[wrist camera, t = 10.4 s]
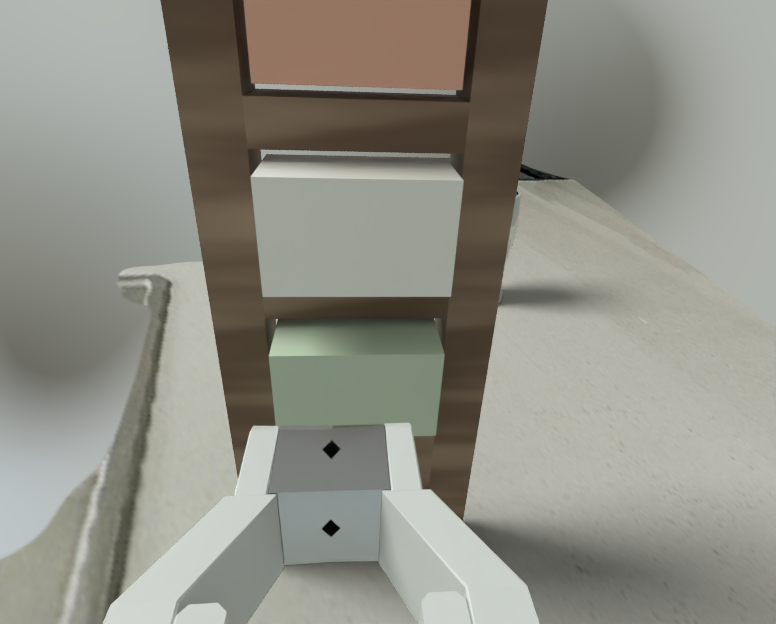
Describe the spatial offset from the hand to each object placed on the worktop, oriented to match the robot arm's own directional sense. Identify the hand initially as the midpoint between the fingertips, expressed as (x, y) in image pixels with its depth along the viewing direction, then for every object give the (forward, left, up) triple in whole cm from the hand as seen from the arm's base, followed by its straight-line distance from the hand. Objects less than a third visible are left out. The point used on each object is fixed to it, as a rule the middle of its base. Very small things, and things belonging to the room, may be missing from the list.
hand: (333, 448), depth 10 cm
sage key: (+11, -7, -11) cm, 17 cm away
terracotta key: (+13, -8, +5) cm, 16 cm away
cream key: (+11, -7, -3) cm, 14 cm away
